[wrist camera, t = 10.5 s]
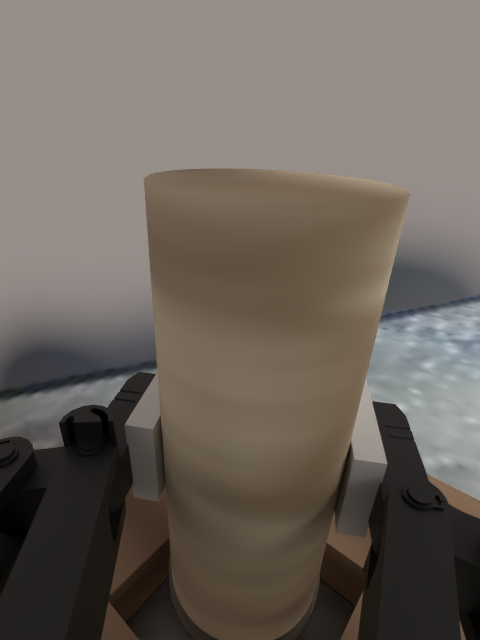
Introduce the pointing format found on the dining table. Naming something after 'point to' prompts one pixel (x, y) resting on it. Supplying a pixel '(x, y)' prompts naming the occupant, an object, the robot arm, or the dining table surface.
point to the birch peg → (261, 378)
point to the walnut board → (154, 552)
